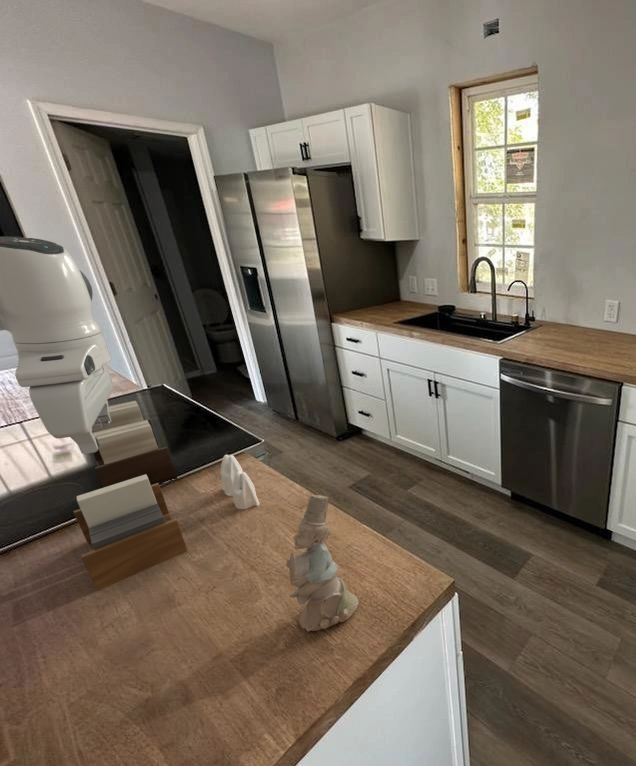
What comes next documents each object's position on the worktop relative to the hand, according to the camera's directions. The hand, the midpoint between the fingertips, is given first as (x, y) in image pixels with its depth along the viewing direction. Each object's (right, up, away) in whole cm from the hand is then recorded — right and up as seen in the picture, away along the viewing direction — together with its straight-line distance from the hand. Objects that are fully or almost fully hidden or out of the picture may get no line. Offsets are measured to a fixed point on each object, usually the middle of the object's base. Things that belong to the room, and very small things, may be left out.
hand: (98, 437), depth 65 cm
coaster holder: (-3, -23, +11) cm, 25 cm away
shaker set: (+7, -18, +25) cm, 31 cm away
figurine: (+36, -28, 0) cm, 46 cm away
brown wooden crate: (-25, -13, +34) cm, 45 cm away
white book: (-3, -21, +10) cm, 24 cm away
